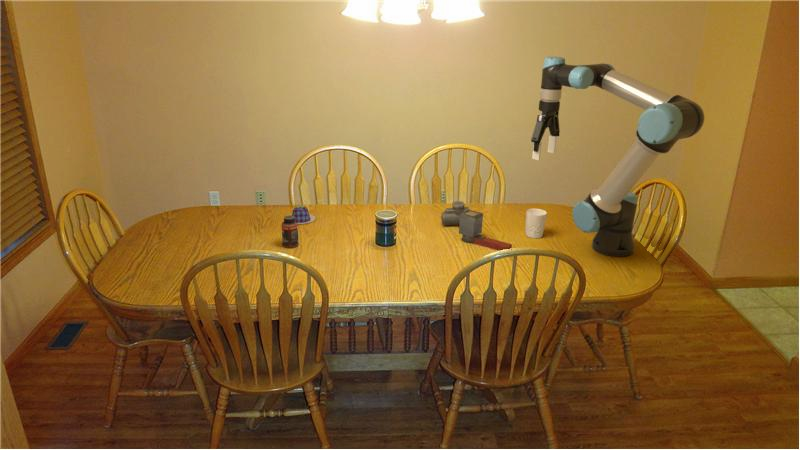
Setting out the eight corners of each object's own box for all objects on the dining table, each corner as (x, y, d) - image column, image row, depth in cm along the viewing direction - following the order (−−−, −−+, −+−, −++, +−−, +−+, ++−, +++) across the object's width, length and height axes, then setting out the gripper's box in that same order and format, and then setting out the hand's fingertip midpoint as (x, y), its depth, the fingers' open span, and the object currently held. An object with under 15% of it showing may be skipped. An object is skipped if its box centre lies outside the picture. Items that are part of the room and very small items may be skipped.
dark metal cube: (481, 232, 227) (483, 213, 224) (473, 237, 222) (474, 217, 219) (467, 228, 231) (468, 209, 228) (458, 233, 226) (460, 213, 223)
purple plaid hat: (314, 214, 251) (313, 203, 249) (316, 224, 240) (316, 212, 239) (285, 216, 249) (285, 204, 247) (286, 226, 238) (286, 214, 236)
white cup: (544, 240, 229) (547, 216, 226) (523, 238, 231) (526, 214, 227) (543, 232, 236) (546, 209, 233) (523, 230, 238) (526, 207, 234)
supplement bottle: (301, 243, 221) (300, 215, 217) (293, 249, 216) (292, 220, 212) (287, 241, 223) (286, 213, 219) (279, 247, 218) (278, 218, 214)
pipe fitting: (469, 220, 246) (468, 198, 242) (472, 229, 239) (471, 206, 234) (441, 223, 247) (439, 200, 242) (442, 231, 239) (441, 209, 235)
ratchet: (512, 249, 220) (514, 232, 218) (505, 254, 216) (506, 236, 213) (467, 236, 231) (468, 219, 229) (459, 240, 227) (460, 223, 224)
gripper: (554, 95, 228) (548, 148, 236) (525, 103, 210) (519, 160, 218) (572, 97, 224) (565, 151, 232) (544, 105, 206) (538, 164, 213)
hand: (543, 156), depth 225 cm, fingers open, 13 cm apart
